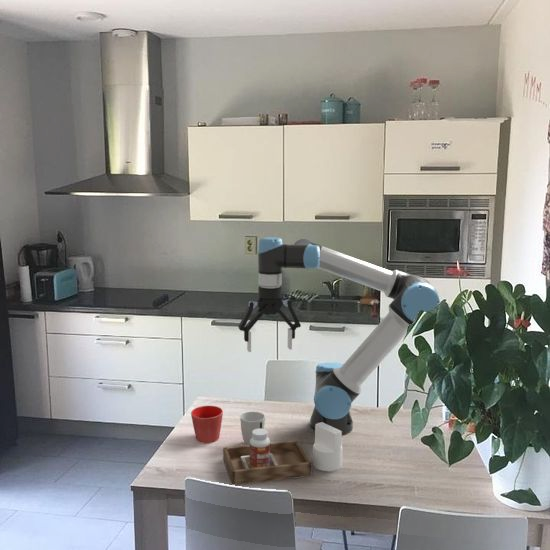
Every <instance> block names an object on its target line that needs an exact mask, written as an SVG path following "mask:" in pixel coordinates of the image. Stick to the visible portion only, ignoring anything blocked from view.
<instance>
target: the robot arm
mask: <svg viewBox="0 0 550 550" xmlns="http://www.w3.org/2000/svg"><path fill="white" fill-rule="evenodd" d="M257 253H258V255H257V257H258V260H257V261H258V280H257V281H258V288H257V289H258V291H257V293H258V294H257V295H258V296H257V298H258V299H257V301H252V300H249V301H248V303H247V304H248V305H247V309H246V311H244V314H243V316H242V317H241V318H242V319H241V321H240V323H239V325H238V327H237V328H238V329H239V331H240V332H241V331H242V332H243V339H244V341H245V342H246V344H247V345H246V346H247V347H246V350H247V353H252V332H251V329H253V327H254V325H256V323H257V322H258V321H259V319H260V318H261V317H262V316H264V315H266V316H268V315H276V314H278V315H279V316H280V317H281V318H282V320H284V322H285V324H287V325H288V328H287V348H288V349H289V350H293V340H294V339H295V338H296V330H297V329H298V328H301V323H300V321H299V318H298V316H297V315H296V312H295V310H294V309H293V305H292V301H291V300H290V299H289V298H287V299H286V300H283V298H282V297H283V296H282V295H283V294H282V292H283V291H282V290H283V287H282V284H283V269H305V270H306V269H307V270H311V269H319V270H322V271H325V272H327V273H330V274H334V275H336V276H338V277H341V278H343V279H347V280H350V281H352V282H355V283H357V284H360V285H363V286H365V287H367V288H371V289H374V290H377V291H380V292H382V293H384V295H385V297H386V298H389V299H392V301H391V302H390V304H388V313H387V314H386V315H385V316H384V318H383V319H382V320H381V321H380V322H379V323H378V325H377V326H375V328H374V329H373V331H371V332H370V334H369V335H368V336H367V337H366V338H365V340H363V342H362V343H361V344H360V345H359V346H358V347H357V349H355V351H354V352H353V353H352V354H351V355H350V356H349V357H348V359H347V360H346V361H345V362H344V363H343V362H342V363H341V362H330V361H329V362H321V363H319V364H317V365H316V368H315V371H314V372H315V388H314V396H313V402H314V407H313V410H312V413H311V415H310V419H309V428H310V429H311V430H312V431H313V432H315V424H317V423H320V422H323V423H325V424H327V425H329V426H332V427H334V428H336V429H338V430H340V431H342V435H346V434H348V433H350V432H351V431H353V428H354V427H353V426H354V422H353V418H352V413H351V411H350V410H351V408H352V403H353V402H354V401H355V400H356V399H357V398H358V397H359V395H360V394H361V393H362V385H363V384H364V383H365V381H366V380H367V379H369V377H370V376H371V374H373V372H374V371H376V369H377V368H378V367H379V366H380V364H382V362H383V361H384V360H385V359H386V358H387V357H388V356H389V354H390V353H391V352H392V351H393V350H394V349H395V348H396V347H397V346H398V345H399V343H400V342H401V341H402V340H403V339H404V338H405V337H406V335H407V334H408V333H407V328H408V326H409V325H410V324H412V323H413V322H414V319H415V317H416V316H417V314H418V312H419V311H420V310H423V311H425V312H426V311H430V310H432V309H434V308H435V307H437V306H438V305H439V304H440V305H441V303H440V302H441V301H440V296H439V293H438V291H437V289H436V288H435V287H434V286H433V285H432V284H431V283H430V281H428V279H426V278H425V277H424V278H423V277H422V276H418V275H415V274H411V273H408V272H405V271H401V270H398V269H394V270H390V269H387V268H385V267H384V268H383V267H381V266H378V265H376V264H373V263H370V262H367V261H365V260H361V259H359V258H356V257H353V256H350V255H347V254H345V253H342V252H339V251H337V250H334V249H332V248H328V247H326V246H323V245H320V244H318V243H314V242H313V241H312V240H310V239H307V238H300V239H298V240H297V241H295V242H294V244H286V243H283V239H282V238H281V237H275V236H274V237H273V236H268V237H267V236H265V237H262V238H260V240H259V241H258V252H257ZM283 305H284V306H285V307H286V309H287V310H288V312H289V314H290V316H291V319H292V321H293V322H294V323H292V321H291V320H290V319H289V318H288V317H287V316H286V315H285V313H284V312H283V311H282V310H281V308H283ZM256 307H258V309H257V311H256V313H255V314H254V315H253V316H252V317H251V315H252V313H253V310H254V309H255V308H256ZM250 317H251V319H250ZM249 319H250V320H249ZM406 333H407V334H406ZM342 435H341V436H342Z"/></svg>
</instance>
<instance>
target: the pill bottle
mask: <svg viewBox="0 0 550 550" xmlns="http://www.w3.org/2000/svg"><path fill="white" fill-rule="evenodd" d="M268 433H269V432H268V430H267V429H265V428H264V429H261V428H260V429H254V430H253V431H252V436H253V437H252V438H251V439H250V466H251V467H252V468H258V467H267V466H269V465H270V443H271V440H270V438H269V437H268Z"/></svg>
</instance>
